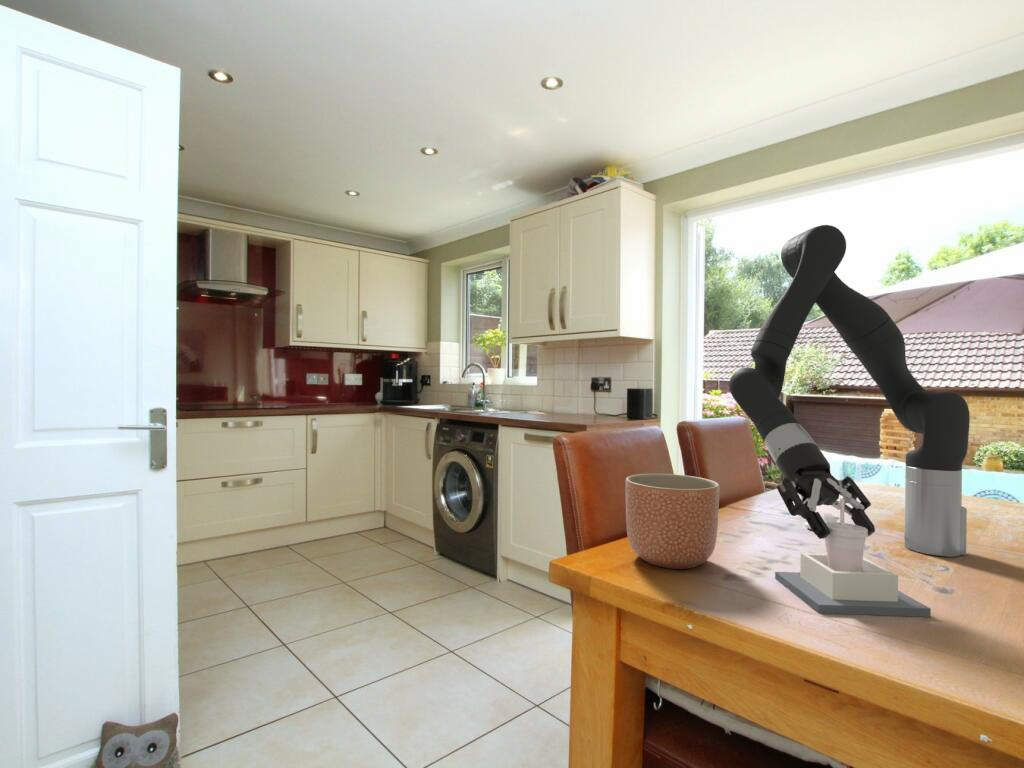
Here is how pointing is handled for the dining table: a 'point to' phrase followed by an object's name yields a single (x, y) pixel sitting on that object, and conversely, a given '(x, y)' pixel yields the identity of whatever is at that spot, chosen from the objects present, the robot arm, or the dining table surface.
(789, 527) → the dining table surface
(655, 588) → the dining table surface
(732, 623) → the dining table surface
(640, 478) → the planter
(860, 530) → the smoothie
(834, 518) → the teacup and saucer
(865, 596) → the socket board
